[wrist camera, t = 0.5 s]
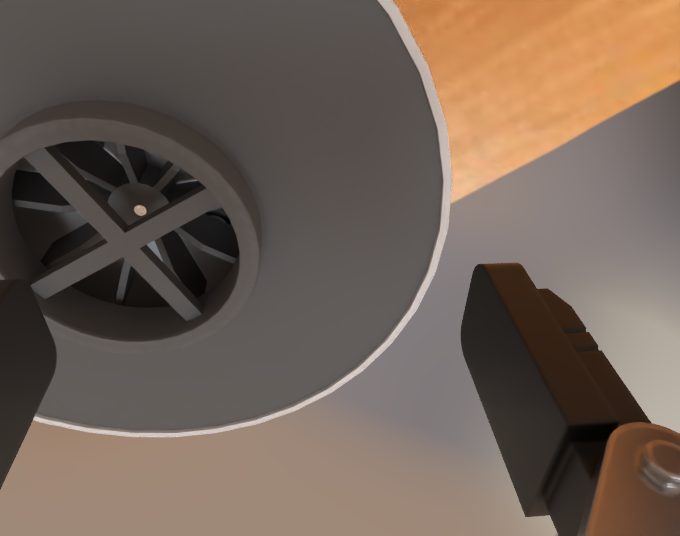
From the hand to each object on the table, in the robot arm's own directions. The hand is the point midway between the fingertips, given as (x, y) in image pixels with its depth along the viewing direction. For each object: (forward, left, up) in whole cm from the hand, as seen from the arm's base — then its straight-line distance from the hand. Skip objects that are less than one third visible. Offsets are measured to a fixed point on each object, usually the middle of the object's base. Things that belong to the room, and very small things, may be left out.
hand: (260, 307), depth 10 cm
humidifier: (+1, -4, -29) cm, 30 cm away
